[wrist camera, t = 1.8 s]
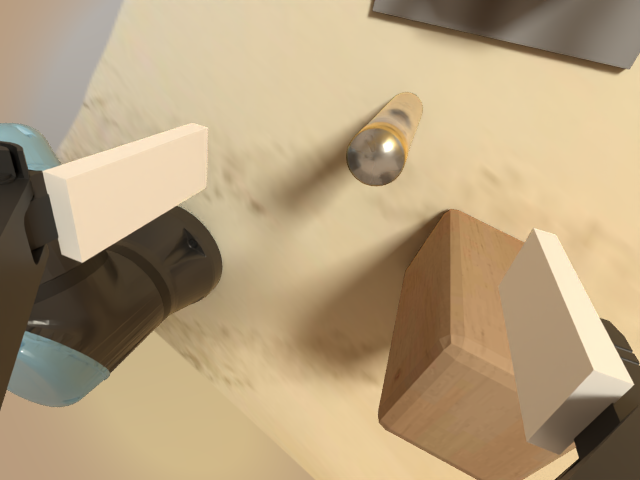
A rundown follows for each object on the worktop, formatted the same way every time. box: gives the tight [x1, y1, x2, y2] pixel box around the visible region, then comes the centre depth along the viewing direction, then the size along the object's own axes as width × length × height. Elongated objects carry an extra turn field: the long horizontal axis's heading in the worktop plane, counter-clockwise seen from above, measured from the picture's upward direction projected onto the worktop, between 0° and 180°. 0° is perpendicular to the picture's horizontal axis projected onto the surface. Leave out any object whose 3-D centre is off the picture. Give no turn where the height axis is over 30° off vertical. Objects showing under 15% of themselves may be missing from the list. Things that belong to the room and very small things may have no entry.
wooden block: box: [378, 209, 576, 480], centre depth 30 cm, size 10×10×20 cm
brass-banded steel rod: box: [346, 92, 423, 186], centre depth 27 cm, size 3×3×16 cm
